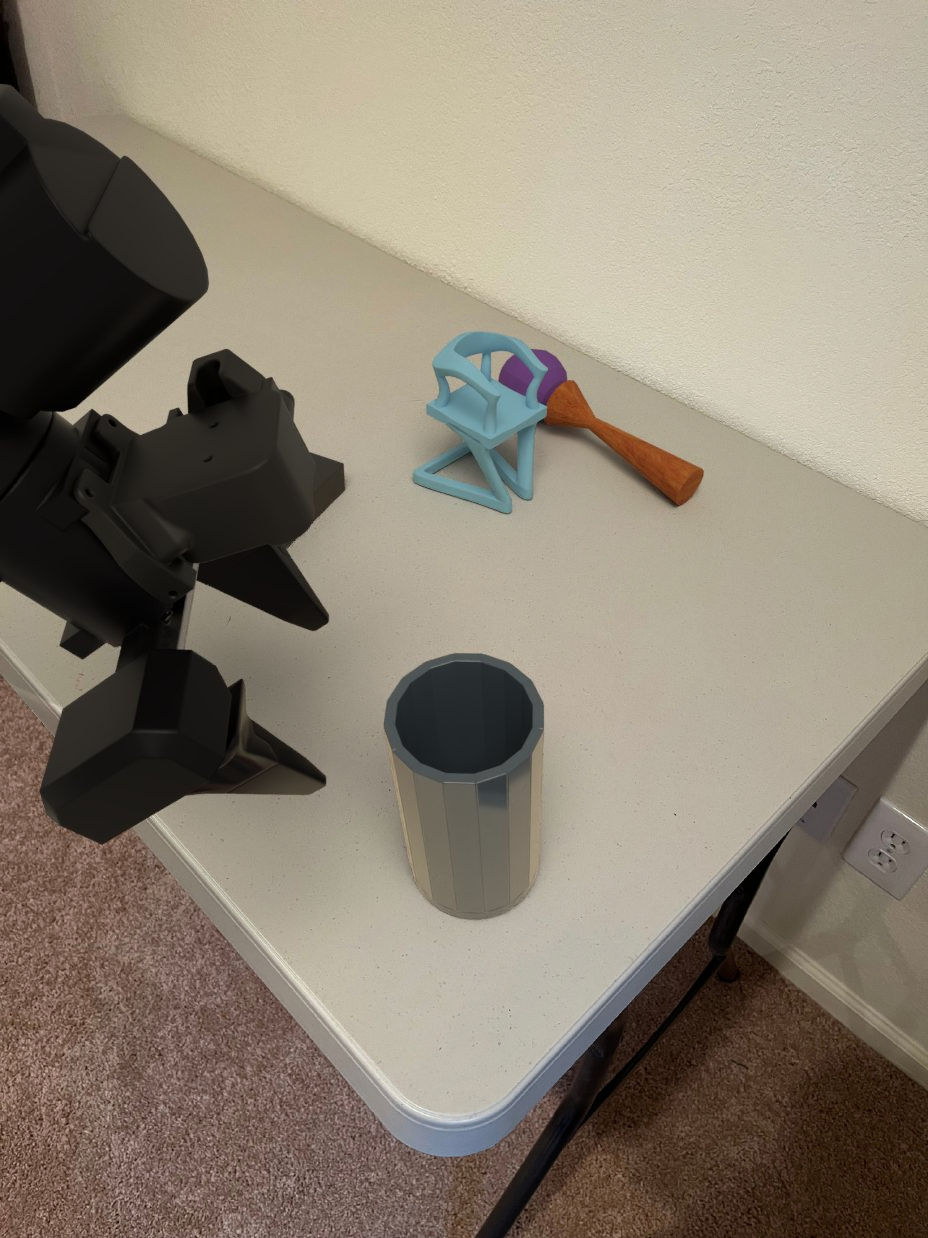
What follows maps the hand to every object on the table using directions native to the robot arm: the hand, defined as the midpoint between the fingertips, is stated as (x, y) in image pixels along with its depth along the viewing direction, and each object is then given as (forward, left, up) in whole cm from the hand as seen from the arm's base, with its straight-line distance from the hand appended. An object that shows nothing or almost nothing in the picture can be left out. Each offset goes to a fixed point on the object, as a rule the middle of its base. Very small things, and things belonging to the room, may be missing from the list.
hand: (320, 699), depth 40 cm
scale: (-23, +22, -13) cm, 34 cm away
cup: (+7, +3, -12) cm, 14 cm away
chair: (-7, +34, -13) cm, 37 cm away
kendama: (-1, +43, -13) cm, 45 cm away
